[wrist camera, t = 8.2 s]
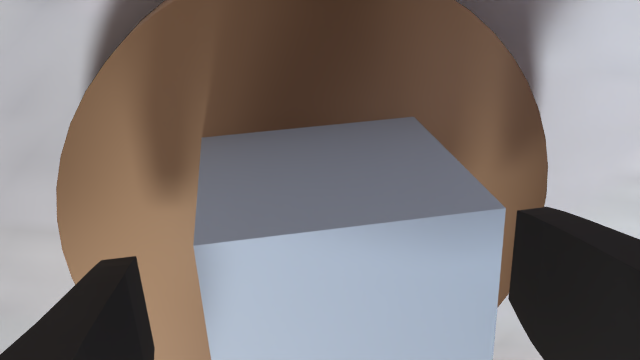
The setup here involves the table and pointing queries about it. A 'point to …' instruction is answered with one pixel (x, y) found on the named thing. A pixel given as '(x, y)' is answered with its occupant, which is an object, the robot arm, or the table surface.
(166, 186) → the walnut bowl
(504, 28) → the table surface
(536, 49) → the table surface
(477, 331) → the blue cube
